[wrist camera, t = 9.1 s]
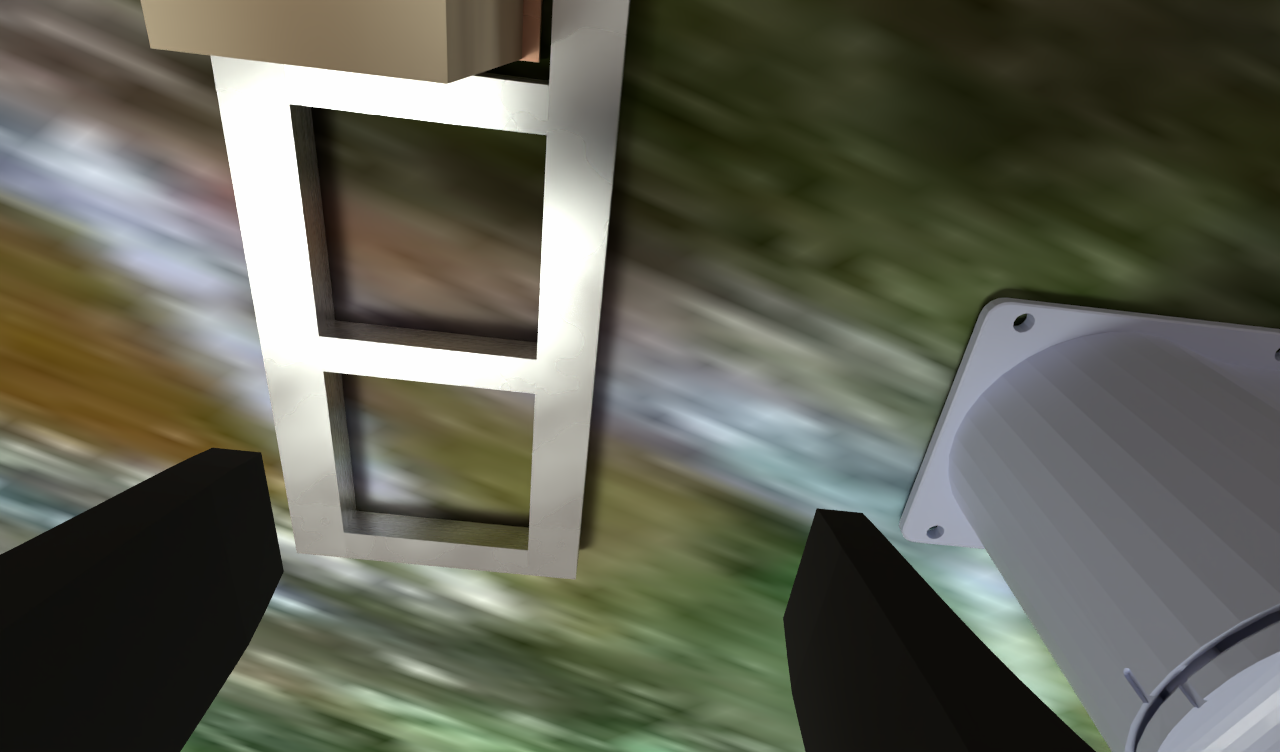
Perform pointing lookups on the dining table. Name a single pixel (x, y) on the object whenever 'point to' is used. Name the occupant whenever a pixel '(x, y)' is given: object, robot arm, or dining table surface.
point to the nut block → (347, 34)
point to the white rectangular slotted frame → (324, 348)
